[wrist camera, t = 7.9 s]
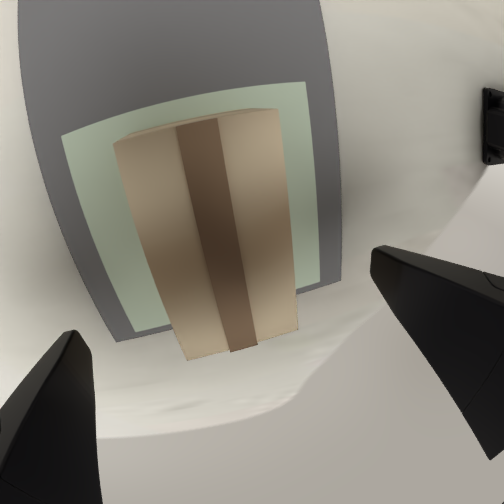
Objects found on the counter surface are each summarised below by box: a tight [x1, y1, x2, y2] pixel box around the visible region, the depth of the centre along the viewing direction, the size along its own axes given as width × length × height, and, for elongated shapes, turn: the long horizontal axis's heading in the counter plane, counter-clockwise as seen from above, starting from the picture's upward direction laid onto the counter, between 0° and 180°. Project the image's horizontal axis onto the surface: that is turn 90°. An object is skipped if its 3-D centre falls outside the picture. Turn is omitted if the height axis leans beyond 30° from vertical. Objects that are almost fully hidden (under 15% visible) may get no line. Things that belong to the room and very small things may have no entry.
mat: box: [18, 0, 342, 342], centre depth 10 cm, size 14×28×1 cm, turn 8°
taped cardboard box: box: [113, 108, 298, 361], centre depth 12 cm, size 9×5×4 cm, turn 8°
